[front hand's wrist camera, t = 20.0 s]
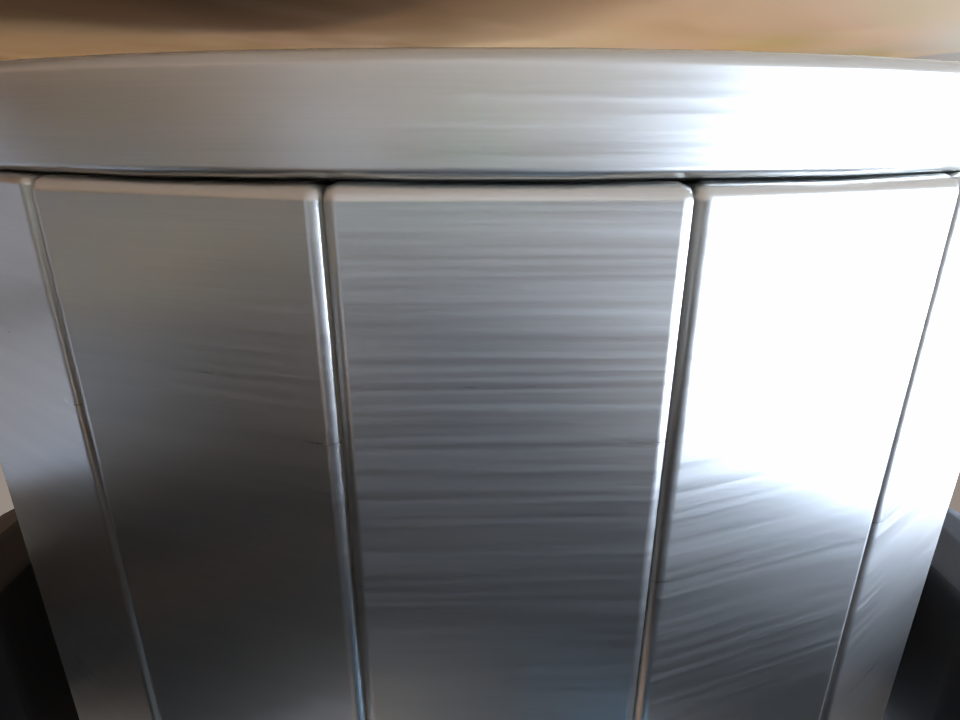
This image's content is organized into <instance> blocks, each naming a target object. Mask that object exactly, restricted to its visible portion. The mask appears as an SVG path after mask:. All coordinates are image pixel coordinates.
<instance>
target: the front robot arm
mask: <svg viewBox="0 0 960 720" xmlns="http://www.w3.org/2000/svg"><path fill="white" fill-rule="evenodd" d="M0 720H79V716H78V713H77V710H76V707H75V703H74V700H73V697H72V694H71V690H70V687H69V684H68V681H67V677H66V674H65V671H64V668H63V664H62V661H61V658H60V655H59V651H58V648H57V645H56V642H55V638H54V635H53V632H52V629H51V625H50V622H49V619H48V616H47V612H46V609H45V606H44V603H43V599H42V596H41V593H40V590H39V586H38V583H37V580H36V577H35V573H34V570H33V567H32V564H31V560H30V557H29V554H28V551H27V547H26V544H25V541H24V538H23V534H22V531H21V528H20V525H19V521H18V518H17V515H16V512H15V509H13V510H11V511H9V512H7V513H5V514H3V515H2V516H0ZM882 720H960V514H959V513H958V512H956V511H954V510H952V509H950V508H948V510H947V513H946V516H945V519H944V522H943V526H942V529H941V532H940V535H939V539H938V542H937V545H936V548H935V551H934V555H933V558H932V561H931V564H930V567H929V571H928V574H927V577H926V580H925V584H924V587H923V590H922V593H921V596H920V600H919V603H918V606H917V609H916V612H915V616H914V619H913V622H912V625H911V629H910V632H909V635H908V638H907V641H906V645H905V648H904V651H903V654H902V657H901V661H900V664H899V667H898V670H897V674H896V677H895V680H894V683H893V686H892V690H891V693H890V696H889V699H888V702H887V706H886V709H885V712H884V715H883V719H882Z"/></svg>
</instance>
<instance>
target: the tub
mask: <svg viewBox="0 0 960 720" xmlns="http://www.w3.org/2000/svg"><path fill="white" fill-rule="evenodd" d="M0 463H1V466H2V469H3V473H4V476H5V479H6V482H7V486H8V489H9V492H10V495H11V498H12V502H13V505H14V508H15V512H16V515H17V518H18V521H19V525H20V528H21V531H22V534H23V538H24V541H25V544H26V547H27V551H28V554H29V557H30V560H31V564H32V567H33V570H34V573H35V577H36V580H37V583H38V586H39V590H40V593H41V596H42V599H43V603H44V606H45V609H46V612H47V616H48V619H49V622H50V625H51V629H52V632H53V635H54V638H55V642H56V645H57V648H58V651H59V655H60V658H61V661H62V664H63V668H64V671H65V674H66V677H67V681H68V684H69V687H70V690H71V694H72V697H73V700H74V703H75V707H76V710H77V713H78V716H79V720H882V719H883V715H884V712H885V709H886V706H887V702H888V699H889V696H890V693H891V690H892V686H893V683H894V680H895V677H896V674H897V670H898V667H899V664H900V661H901V657H902V654H903V651H904V648H905V645H906V641H907V638H908V635H909V632H910V629H911V625H912V622H913V619H914V616H915V612H916V609H917V606H918V603H919V600H920V596H921V593H922V590H923V587H924V584H925V580H926V577H927V574H928V571H929V567H930V564H931V561H932V558H933V555H934V551H935V548H936V545H937V542H938V539H939V535H940V532H941V529H942V526H943V522H944V519H945V516H946V513H947V510H948V506H949V503H950V500H951V497H952V494H953V490H954V487H955V484H956V481H957V477H958V474H959V471H960V61H945V60H929V59H913V58H897V57H881V56H865V55H840V54H813V53H786V52H758V51H730V50H675V49H620V48H474V47H403V48H329V49H255V50H223V51H191V52H160V53H128V54H107V55H88V56H70V57H52V58H34V59H17V60H6V61H0Z"/></svg>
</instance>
